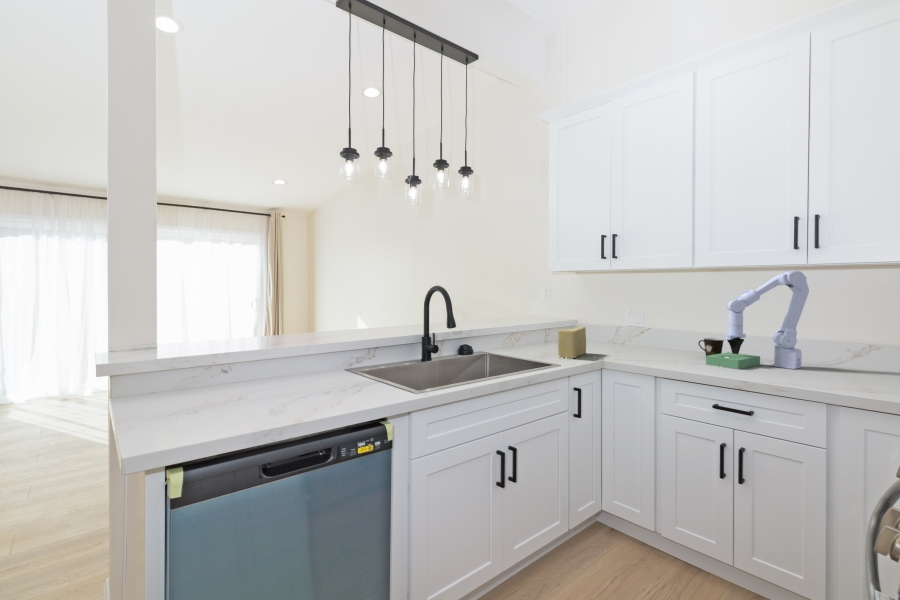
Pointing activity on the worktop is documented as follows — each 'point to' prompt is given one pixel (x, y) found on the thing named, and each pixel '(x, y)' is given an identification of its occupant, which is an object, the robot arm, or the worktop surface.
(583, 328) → the cheese
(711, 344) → the coffee mug
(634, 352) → the worktop surface
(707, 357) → the practice green
